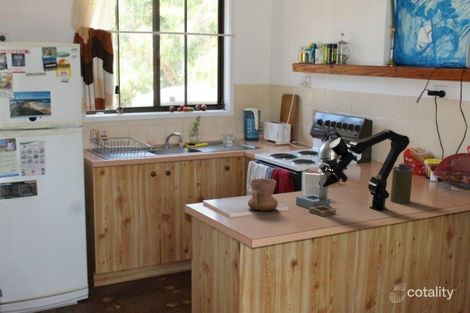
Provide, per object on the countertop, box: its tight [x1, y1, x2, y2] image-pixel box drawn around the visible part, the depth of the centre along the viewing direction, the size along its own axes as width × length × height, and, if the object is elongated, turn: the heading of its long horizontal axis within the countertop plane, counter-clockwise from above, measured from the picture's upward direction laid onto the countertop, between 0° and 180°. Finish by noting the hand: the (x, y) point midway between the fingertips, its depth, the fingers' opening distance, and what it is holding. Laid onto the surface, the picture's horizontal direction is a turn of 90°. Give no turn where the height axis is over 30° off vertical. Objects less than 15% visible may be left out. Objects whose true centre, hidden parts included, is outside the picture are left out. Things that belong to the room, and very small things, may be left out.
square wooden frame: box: [308, 205, 337, 217], centre depth 287 cm, size 9×9×2 cm
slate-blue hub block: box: [295, 194, 331, 209], centre depth 300 cm, size 12×12×4 cm
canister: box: [389, 162, 414, 205], centre depth 313 cm, size 11×10×20 cm
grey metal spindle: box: [319, 172, 329, 201], centre depth 285 cm, size 4×4×13 cm
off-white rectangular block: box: [303, 172, 320, 195], centre depth 319 cm, size 9×9×12 cm
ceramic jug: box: [247, 177, 279, 212], centre depth 289 cm, size 18×14×14 cm
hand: (321, 185), depth 285 cm, fingers closed on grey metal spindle, 4 cm apart
